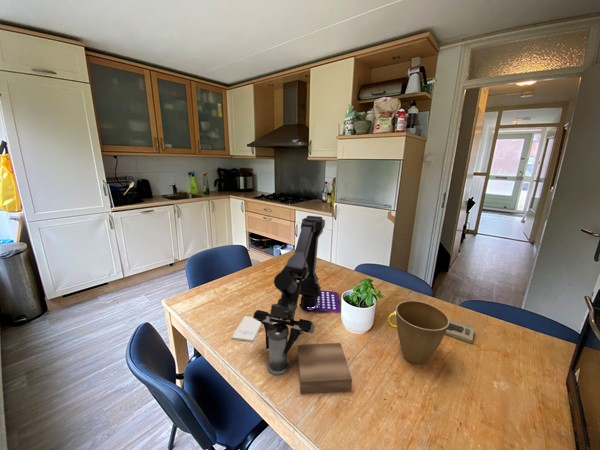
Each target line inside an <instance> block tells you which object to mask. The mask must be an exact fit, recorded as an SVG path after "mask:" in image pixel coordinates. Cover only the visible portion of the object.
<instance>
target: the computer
mask: <svg viewBox="0 0 600 450" xmlns="http://www.w3.org/2000/svg"><path fill="white" fill-rule="evenodd" d="M448 319H449V325H448V328H447V330H446V333H445V335H444V336H447V337H450V338H453V339H456V340H459V341H462V342H464V343H467V344H470V345H472V344H473V341H474V332H475V327H474V326H471V325H469V324H465V323H463V322H460V321H457V320H453V319H450V318H448Z"/></svg>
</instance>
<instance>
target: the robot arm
mask: <svg viewBox="0 0 600 450" xmlns="http://www.w3.org/2000/svg"><path fill="white" fill-rule="evenodd" d="M325 225H326V220H325V219H323V217H322V216H318V215H316V216H315V215H307V216H306V217H304V218H302V219H301V224H300V233H299V236H298V240H297V243H296V246H295V250H294V253H293V255H291V256H290V257H289V258H288V261H287V263H286V264H285V266H284V267H283V268H282V270H281V271H280V272H278V274H276V276H274V279H273V284H274V286H275V288H276V289H277V290H278V291H279V292H280V293H281V294H280V298H278V300H277V303H273V304H271V307H270V312H268V311H266V310H265V311H264V310H261V309H256V311H254V313H253V316H252V317H253V318H254V319H255V320H257V321H260V322H261V323H262V326H263V327H264V333H265V349H266V350H269V337H268V335H267V329H268V327H269V326H270V325H272V324H275V323H282V324H285V325H287V326H288V327H289V326H290V329H289V335H288V342H287V346H286V350H285V354H287V353H289V351H290V350H291V348H292V347H293V345H294V343H295V342H296V341H297V340H298V338H299V337H300V335H304V334H305V333H307V334H308V333H309V334H314V332H315V325H314V323H313V321H312V320H307V319H303V318H299V320H295V316H296V310H297V309H298V302H299V297H300V295H301V297H300V303H299V307H301V308H302V309H303V310H304V311H306V312H307V313H309V312H311V310H308V309H307V307H314V306H315V305H316V303H317V304H318V298H319V297H321V296H322V287H321V286H320V283H319V277H318V275H317V273H316V269H317V266H316V265H317V256H318V246H319V245H318V244H319V238H320V236H321V235H322V233H324V232H323V231H324V229H325V227H326V226H325Z"/></svg>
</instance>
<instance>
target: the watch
mask: <svg viewBox="0 0 600 450" xmlns="http://www.w3.org/2000/svg"><path fill="white" fill-rule="evenodd" d="M394 316H395V317H396V310H394V311H393V312H391V313H390V314H389V315H388V319H387V321H388V323H389V325H390V327H393V328H397V324H395V323H394V324H393V322H391V319H390V318H391V317H394Z"/></svg>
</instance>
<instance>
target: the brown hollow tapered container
mask: <svg viewBox="0 0 600 450" xmlns="http://www.w3.org/2000/svg"><path fill="white" fill-rule="evenodd" d="M395 311H396V316H395V318H396V325H397V327H396V329H397V336H398V341H399V346H400V348H401V352H402V355H403V357H404V359H406V361H408V362H410V363H411V364H413V365H418V366H419V365H426V364H427V362H429V360H430V359H431V358H432V357H433V356H434V354H435V353H436V351H437V349H438V348H439V346H440V345H441V342H442V341H443V340H444V337H445V336H446V335H445V333H446V330H447V328H448V325H449V319H450V318H449V316H447V314H446V313H445V312H444V311H442V310H441V309H440V308H438V307H436V306H434V305H432V304H430V303H427V302H424V301H419V300H405V301H401V302H399V303H398V304H397V305H396V306H395Z"/></svg>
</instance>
